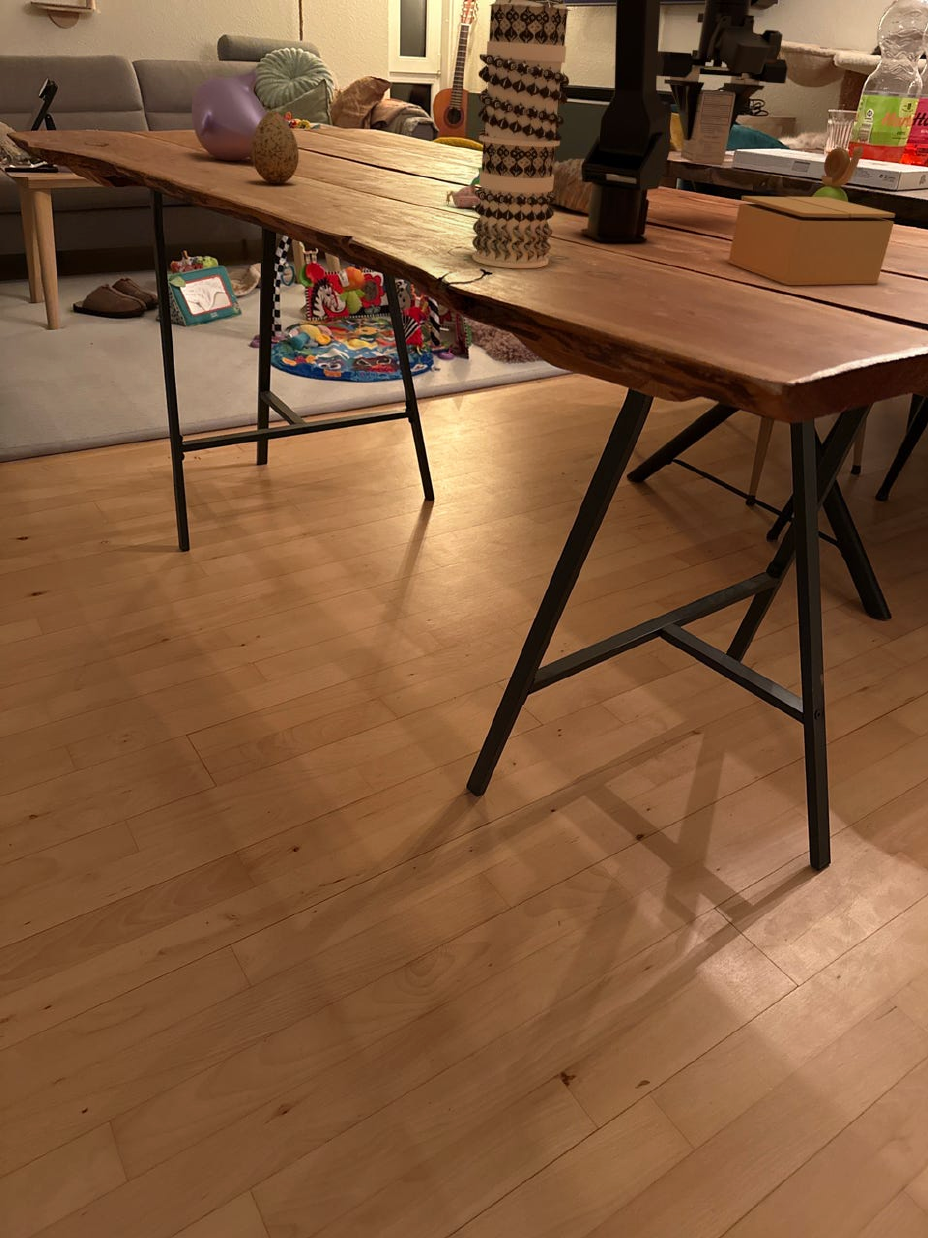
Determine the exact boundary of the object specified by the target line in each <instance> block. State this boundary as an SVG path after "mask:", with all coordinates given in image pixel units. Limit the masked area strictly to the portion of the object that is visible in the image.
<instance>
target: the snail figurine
mask: <svg viewBox="0 0 928 1238" xmlns="http://www.w3.org/2000/svg"><path fill="white" fill-rule="evenodd" d="M859 142H860V144H859V145H858V146H856V147H854V148H853V150H852V156H851V157H850V154H849V151H848V150H847V149H846V148H844V147H835V148H833V149H832V150H830V152H829V153H828V154H827V155H826V158H825V159H824V164H823V170H824V173H825V175H824V174H822V175H821V182H822V184H823V185H824V186H823V187H821V188H819V189H818V190H816V191H815V193H813V194H812V196H811V197H828V198H833V199H837V200H841V201H845V202H849V199H848V196H847V193H846V192H845V190H844V189H842V188H841V187H843V186H844V185H847V183H849V182H850V180H851V179H852V177H853V176H854V174H855V171H856V169H857V167H858V165H859V162H860V159H861V158H862V155H863V153H864V147H865V143H867V142H868V138H867V137H860V138H859ZM862 143H863V145H862Z"/></svg>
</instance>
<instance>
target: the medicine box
mask: <svg viewBox="0 0 928 1238" xmlns="http://www.w3.org/2000/svg"><path fill="white" fill-rule="evenodd" d="M734 100H735V93H734V92H728V91H723V90H718V89H704V88H702V89H701V91H700V93H699V95H698V98H697V105H696V112H695V119H694V126H693V131H692V135H691V139H690V140H685V139H684V136H683V137H682V143H681V149H680V158H681V159H684V160H685V161H688V162H691V163H692V164H700V165H711V166H712V165H713V166H723V164H724V163H725V159H726V152H727V145H728V142H729V141H728V140H729V135H730V133H729V129H730V123H731V118H732V112H733V106H734Z"/></svg>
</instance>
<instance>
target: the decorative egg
mask: <svg viewBox="0 0 928 1238" xmlns="http://www.w3.org/2000/svg"><path fill="white" fill-rule="evenodd" d="M251 155H252V159H251V161H252V163H253V166H254V168H255V170H256V172H257V173H258V175H259V176H260V177H261V178H262V179H263V180H264V181H266V182H268V183H270V184H274V185H281V184H284V183H286V182H288V181H289V180H290V179H291V178H292V177H293V176H294V175H295V173H296V170H297V168H298V165H299V159H300V157H299V156H300V153H299V145H298V141H297V139H296V136H295V134H294V132H293V131H292V128H291V127H290V126H289V123H288V124H287V122H286V121H285V118H283V117H282V115H280V113H279V112H277V111H275V110H271V111H268V112H266V115H265V116H264V117H263V118H262V120H261V121H260V122H259V124H258V126H257V128H256V130H255V132H254V135H253V139H252V145H251Z"/></svg>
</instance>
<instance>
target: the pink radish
mask: <svg viewBox="0 0 928 1238" xmlns="http://www.w3.org/2000/svg"><path fill="white" fill-rule="evenodd" d="M477 170H478V175H477V176H476V177H474V178H473V179H472V180H471V183H470V184H469V185H467V186H464V187H461V188H460V189H459V190H458V191H457V192H455V191H453V190H450V192H449V191H446V198H445V203H446V204H447V205H449V204H450V203H451V199H450V198H451V197H452V201H453V204H454V206H455V207H457V208H460V209H461V208H473V207H475V206H477V205H478V204H480V202H481V200H480V199H479V198H478V197H477V196H476V195H475V192H476V190H478V189H477V188H476V186H479V178H480V171H481V170H482V166H480V167H478V168H477Z"/></svg>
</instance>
